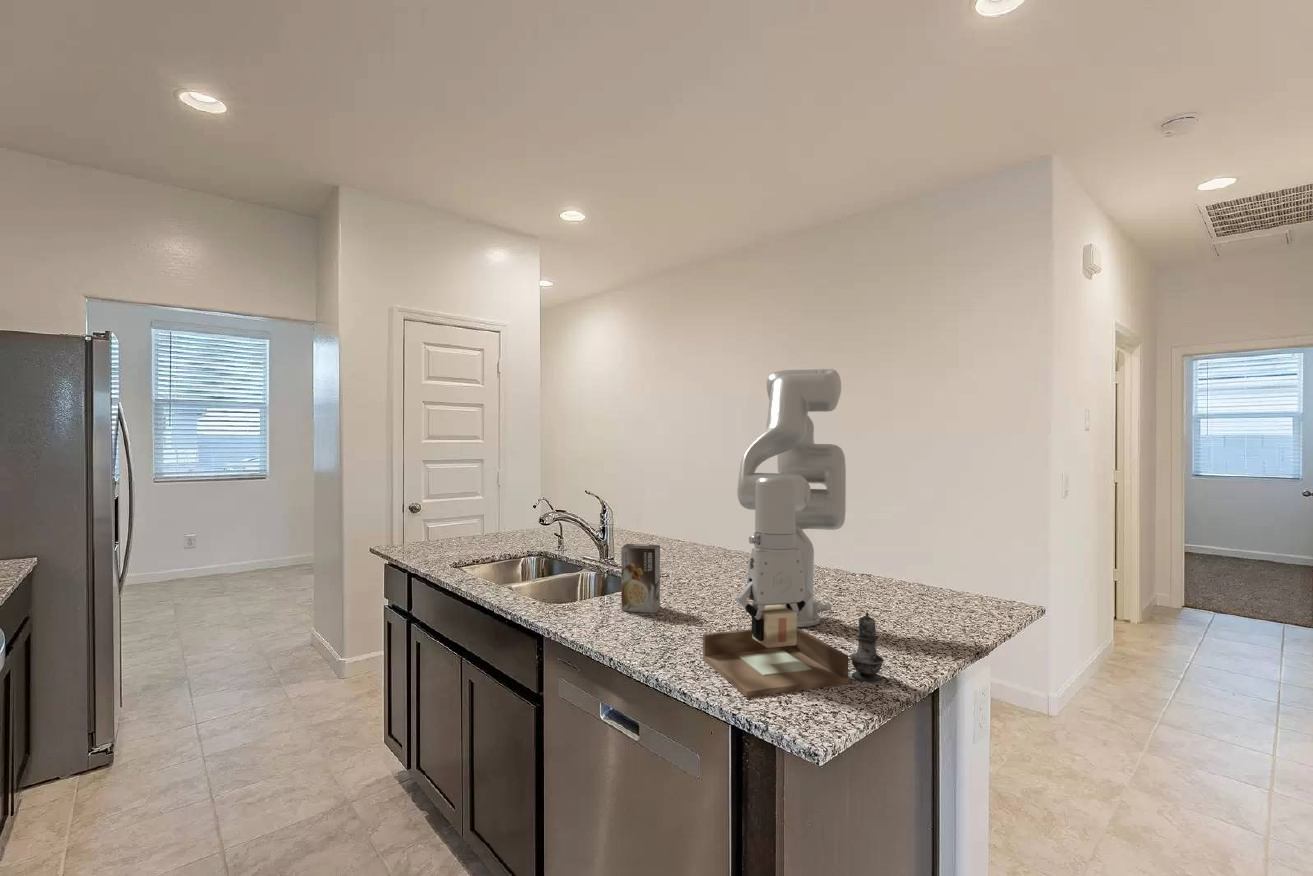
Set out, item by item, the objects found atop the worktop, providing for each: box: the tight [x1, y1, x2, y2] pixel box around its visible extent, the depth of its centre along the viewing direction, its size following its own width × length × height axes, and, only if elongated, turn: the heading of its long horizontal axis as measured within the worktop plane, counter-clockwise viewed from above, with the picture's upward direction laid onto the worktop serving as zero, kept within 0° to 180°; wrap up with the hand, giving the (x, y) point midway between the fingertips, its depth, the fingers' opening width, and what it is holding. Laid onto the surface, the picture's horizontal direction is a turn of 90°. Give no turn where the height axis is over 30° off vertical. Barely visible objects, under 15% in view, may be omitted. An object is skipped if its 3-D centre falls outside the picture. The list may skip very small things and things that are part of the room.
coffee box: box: [620, 543, 661, 614], centre depth 160 cm, size 9×6×16 cm
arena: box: [702, 627, 849, 698], centre depth 118 cm, size 20×19×5 cm
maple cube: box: [753, 605, 798, 648], centre depth 119 cm, size 6×6×6 cm
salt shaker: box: [849, 611, 885, 684], centre depth 115 cm, size 6×6×12 cm
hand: (774, 636), depth 119 cm, fingers closed on maple cube, 6 cm apart
